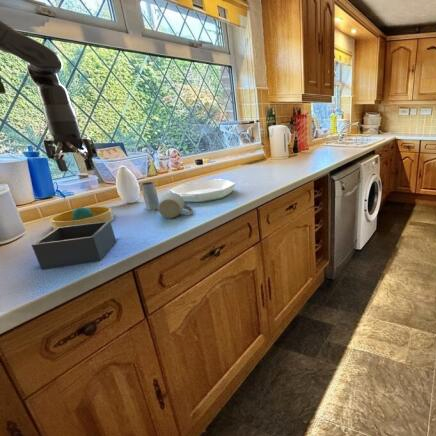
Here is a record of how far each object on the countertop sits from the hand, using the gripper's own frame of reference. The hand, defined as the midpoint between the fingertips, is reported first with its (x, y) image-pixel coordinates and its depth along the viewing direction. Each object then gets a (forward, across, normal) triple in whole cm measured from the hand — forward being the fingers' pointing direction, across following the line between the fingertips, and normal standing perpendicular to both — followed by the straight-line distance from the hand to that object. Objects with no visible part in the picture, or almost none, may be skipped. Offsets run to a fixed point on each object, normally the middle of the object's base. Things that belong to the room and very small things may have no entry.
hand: (77, 170), depth 101 cm
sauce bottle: (+18, +1, +22) cm, 28 cm away
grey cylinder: (+18, +16, +10) cm, 26 cm away
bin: (+18, +16, -29) cm, 38 cm away
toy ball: (+17, 0, -4) cm, 18 cm away
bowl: (+18, 0, -4) cm, 18 cm away
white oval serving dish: (+18, +30, +28) cm, 45 cm away
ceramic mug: (+18, +29, +2) cm, 34 cm away
